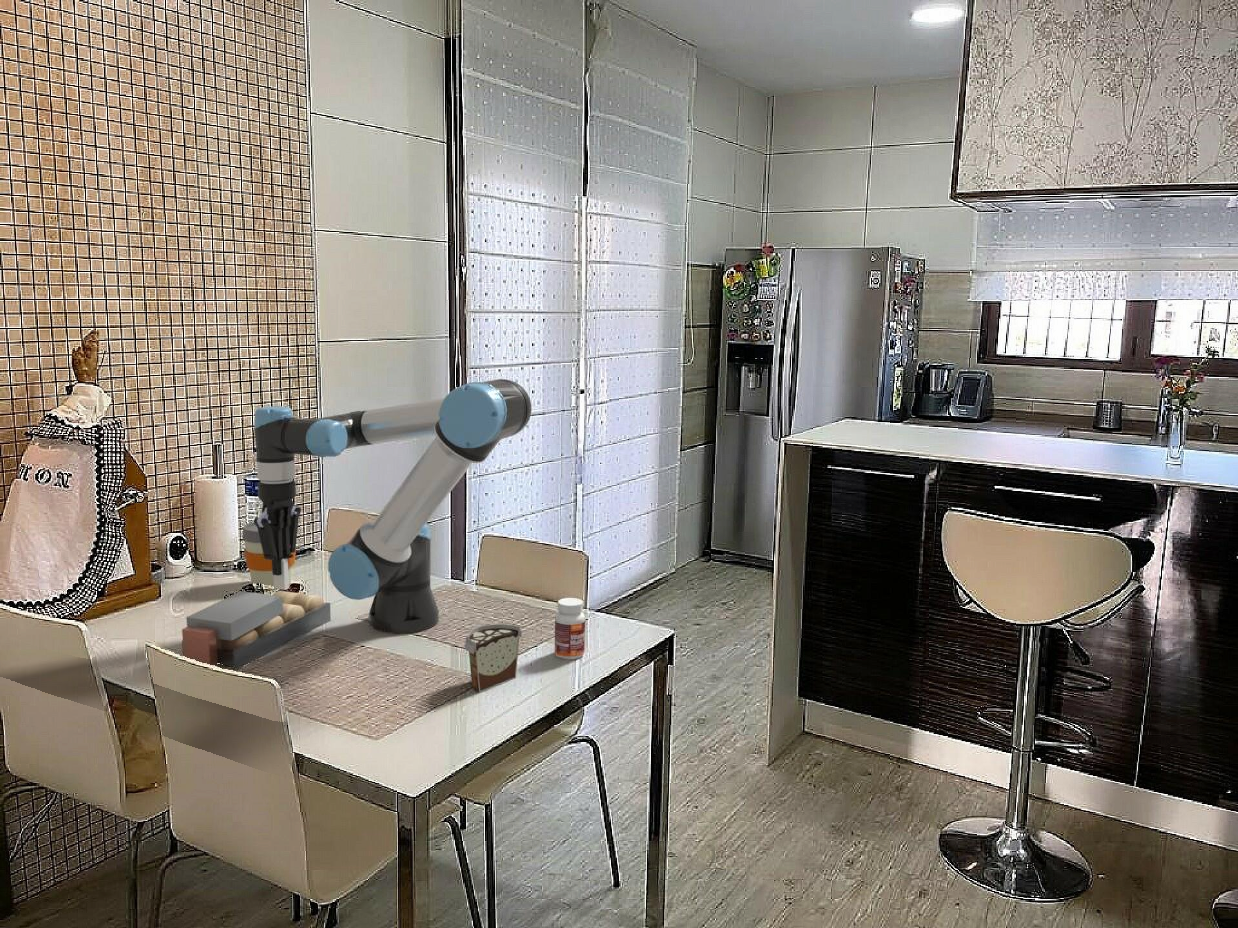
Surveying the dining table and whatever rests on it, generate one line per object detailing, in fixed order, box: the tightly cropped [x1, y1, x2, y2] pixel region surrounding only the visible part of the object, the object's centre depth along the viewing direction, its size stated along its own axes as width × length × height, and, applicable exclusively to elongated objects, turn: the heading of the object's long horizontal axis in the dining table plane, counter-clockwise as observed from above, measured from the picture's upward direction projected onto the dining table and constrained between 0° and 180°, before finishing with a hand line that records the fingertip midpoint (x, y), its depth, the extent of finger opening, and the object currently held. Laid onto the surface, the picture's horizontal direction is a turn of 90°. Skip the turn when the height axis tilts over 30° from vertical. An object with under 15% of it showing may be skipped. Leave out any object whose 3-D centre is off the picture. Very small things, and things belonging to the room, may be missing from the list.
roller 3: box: [272, 590, 325, 613], centre depth 205 cm, size 10×6×6 cm, turn 73°
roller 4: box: [278, 603, 305, 623], centre depth 198 cm, size 10×6×6 cm, turn 73°
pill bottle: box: [554, 597, 586, 661], centre depth 189 cm, size 6×6×11 cm
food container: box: [464, 623, 523, 694], centre depth 175 cm, size 12×6×10 cm, turn 141°
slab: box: [185, 590, 283, 641], centre depth 186 cm, size 10×16×4 cm, turn 164°
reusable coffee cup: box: [242, 521, 297, 586], centre depth 229 cm, size 13×13×15 cm
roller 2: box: [253, 616, 284, 636], centre depth 192 cm, size 10×6×6 cm, turn 73°
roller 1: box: [216, 629, 258, 652], centre depth 184 cm, size 9×6×6 cm
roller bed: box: [181, 602, 332, 670], centre depth 192 cm, size 13×34×8 cm, turn 163°
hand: (281, 588), depth 200 cm, fingers closed
